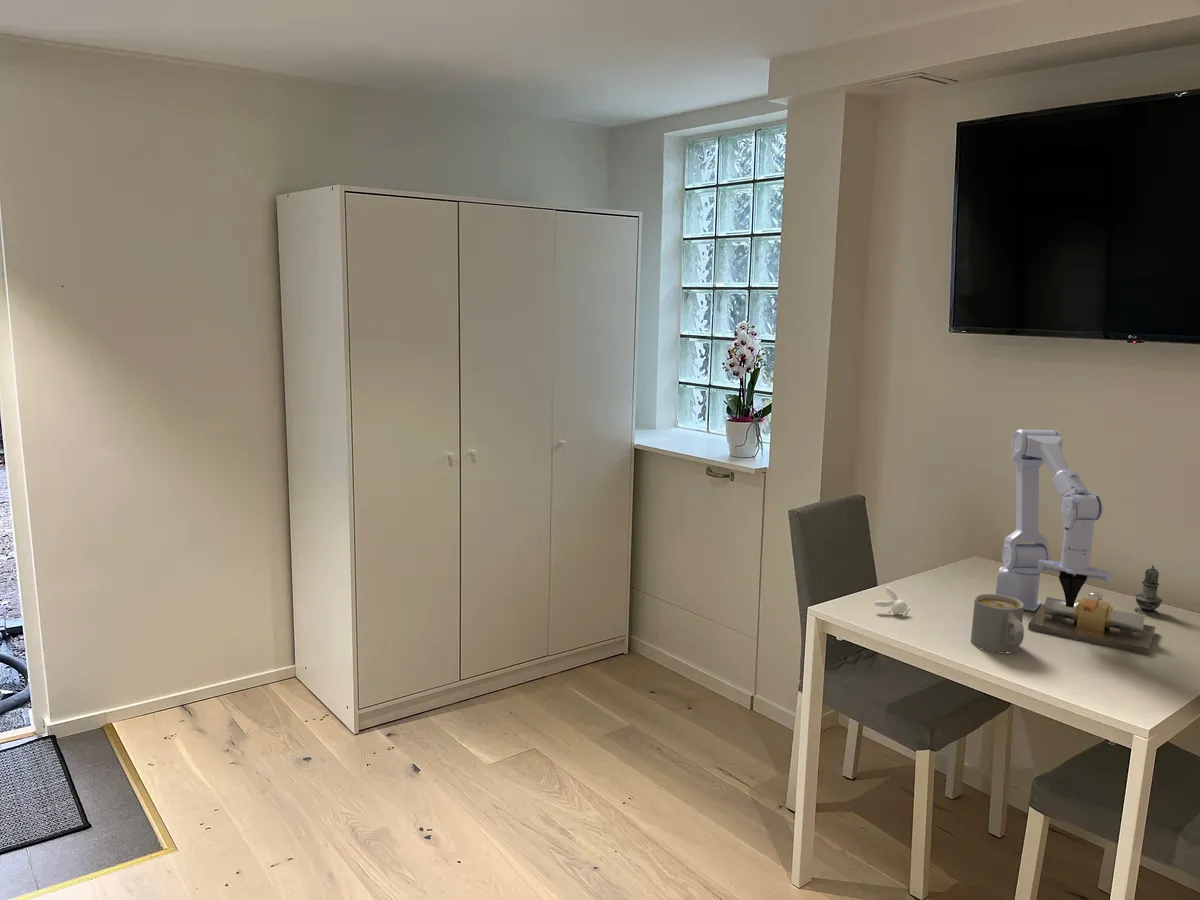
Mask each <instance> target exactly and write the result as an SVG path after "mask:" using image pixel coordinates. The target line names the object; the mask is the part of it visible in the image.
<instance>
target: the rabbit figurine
mask: <svg viewBox="0 0 1200 900" xmlns="http://www.w3.org/2000/svg"><path fill="white" fill-rule="evenodd" d="M885 592H886V594H887V595H888V596H889V597H890V598H891V601H890V600H889V601H888V600H876V601H874V605H875V606H876V607H881V608H885V607H890V606H891V609H890V610H888V611H887V613H888V612H889V613H891V612H892V613H893V614H895V615H899V614H902V617H903V618H906V616H908V615H909V612H910V611H911V607H910V606H908V604H907V602H906V601H904V600H903V599H901V598H900V599H898V594H896V593H895V592H894V590H893V589H892V588H891V587H889V586H887V585H885ZM892 600H894V601H892ZM890 611H891V612H890Z"/></svg>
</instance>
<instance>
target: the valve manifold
mask: <svg viewBox="0 0 1200 900" xmlns="http://www.w3.org/2000/svg"><path fill="white" fill-rule="evenodd" d="M1086 599H1089V598H1087V597H1082V598H1081V600H1079V599H1078V600H1077V599H1076V601H1075V604H1074V607H1073V608H1071V607H1066V599H1060V598H1055V597H1049V596H1046V598H1045V602H1044V603H1041V605H1040V606H1039V607H1038V610H1036V611H1035V614H1034V615H1033V617H1032V618H1031V619H1030V620H1029V622H1028V627H1027V630H1029V629H1031V630H1030V631H1034V630H1036V631H1035V632H1039V631H1040V633H1043V632H1045V633H1044V634H1048V633H1050V634H1049V635H1053V634H1055V635H1054V636H1057V635H1059V636H1058V637H1062V636H1063V638H1067V637H1068V638H1067V639H1071V640H1076V639H1077V641H1081V642H1086V643H1090V644H1094V643H1095V645H1098V646H1099V645H1100V646H1105V647H1108V648H1114V649H1118V650H1122V651H1123V650H1124V651H1128V652H1133V653H1136V654H1141V655H1145V656H1148V654H1149V651H1150V649H1151V646H1152V642H1153V639H1154V636H1155V633H1156V626H1153V625H1149V624H1145V617H1146V615H1143V614H1139V613H1137V614H1136V613H1133V612H1132V613H1131V612H1127V611H1123V610H1122V611H1121V610H1117V609H1114V607H1113V606H1112V605H1111V602H1109V601H1105V600H1104V601H1103V600H1100V601H1098V602H1097V607H1096V609H1095V611H1094V612H1093V613H1088V612H1083V611H1082V609H1083V604H1084V603H1085V601H1086Z"/></svg>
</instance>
